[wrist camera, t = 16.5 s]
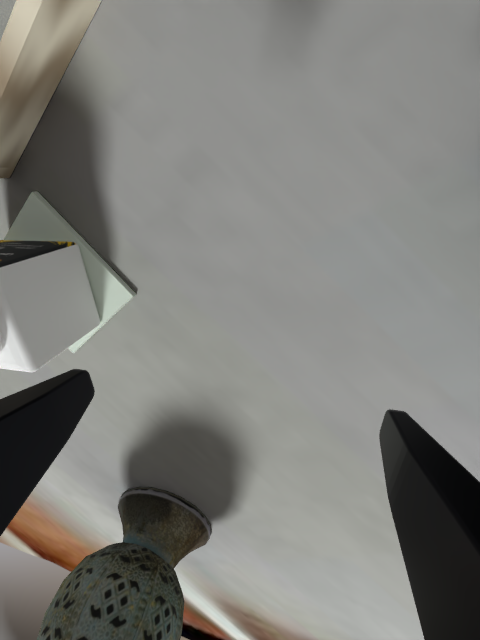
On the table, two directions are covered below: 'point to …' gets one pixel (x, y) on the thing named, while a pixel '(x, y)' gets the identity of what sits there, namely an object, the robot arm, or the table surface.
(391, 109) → the table surface
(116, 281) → the sage mat
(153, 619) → the lantern
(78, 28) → the birch box
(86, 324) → the medicine bottle
